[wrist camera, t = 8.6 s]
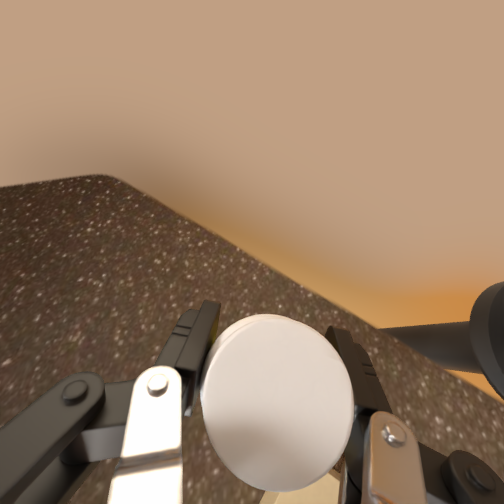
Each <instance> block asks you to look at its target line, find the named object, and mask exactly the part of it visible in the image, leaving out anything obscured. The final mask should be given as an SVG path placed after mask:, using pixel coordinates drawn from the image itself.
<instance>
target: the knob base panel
mask: <svg viewBox="0 0 504 504" xmlns="http://www.w3.org/2000/svg"><path fill="white" fill-rule="evenodd" d="M340 475H341V474H339V473H338V472H337V471H335V470H334V469H333V468H332V469H331V470H330V471H329V472H328V473H327V474H326V475H325V476H323V477H322V478H320V479H319V480H318V481H317V482H315V483H313V484H311V485H309V486H307V487H305V488H302V489H299V490H295V491H290V492H271V491H265V493H264V495H263V497H262V499H261V501H260V503H259V504H338V494H339V485H340Z"/></svg>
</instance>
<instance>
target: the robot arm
mask: <svg viewBox="0 0 504 504" xmlns="http://www.w3.org/2000/svg"><path fill="white" fill-rule="evenodd" d="M220 308H221V303H219V302H214V301H209V300H204V302H203V304H202V306H201V308H200V310H194V309H189V310H188V311H186V312H185V313H184V314H182V315H181V316H180V318H179V320H178V322H177V324H176V326H175V327H174V329H173V331H172V334H171V335H170V336H169V338H168V340H167V342H166V344H165V346H164V347H163V349H162V351H161V353H160V355H159V357H158V358H157V360H156V362H155V364H154V365H153V367H152V368H150V369H148V370H146V371H145V372H143V373H142V374H141V375H140V376H139V377H138V378H136V379H133V380H130V381H122V382H112V383H104V380H103V378H102V377H101V376H100V375H99V374H97V373H94V372H79V373H75V374H72V375H70V376H67V377H65V378H64V379H62V380H61V381H59V382H58V383H56V384H55V385H54V386H53V387H51V388H50V389H49V390H48V391H46V392H45V393H44V394H43V395H41V396H40V397H39V398H38V399H36V400H35V401H34V402H33V403H31V404H30V405H29V406H28V407H26V408H25V409H24V410H22V411H21V412H20V413H19V414H17V415H16V416H15V417H14V418H12V419H11V420H10V421H9V422H7V423H6V424H5V425H4V426H2V427H1V428H0V504H67V502H68V501H69V500H70V499H71V497H72V496H73V495H74V494H75V492H76V491H77V490H78V489H79V487H80V486H81V485H82V484H83V482H84V481H85V480H86V479H87V477H88V476H89V475H90V474H91V472H92V471H93V470H94V469H95V467H96V466H97V465H98V464H99V462H100V461H101V460H105V459H111V458H116V457H120V460H119V463H118V465H117V466H116V468H115V471H114V474H113V478H112V482H111V487H110V492H109V497H108V502H107V504H182V454H181V423H182V420H183V417H184V416H189V417H191V416H192V413H193V409H194V406H195V403H196V400H197V397H198V393H199V390H200V381H201V374H202V369H203V365H204V362H205V359H206V356H207V354H208V352H209V350H210V348H211V347H212V345H213V344H214V342H215V338H216V333H217V328H218V321H219V315H220ZM325 338H326V339H327V340H328V342H329V343H330V344H331V345H332V346H333V347H334V349H335V350H336V351H337V353H338V354H339V356H340V358H341V359H342V361H343V363H344V365H345V367H346V369H347V372H348V375H349V378H350V381H351V385H352V390H353V397H354V418H353V424H352V429H351V433H350V437H349V440H348V443H347V445H346V447H345V450H344V455H345V460H344V462H343V464H342V467H341V475H340V485H339V494H338V504H504V483H503V481H502V480H501V479H500V478H499V476H498V475H497V474H496V473H495V472H494V471H493V470H492V469H491V468H490V467H489V466H488V465H487V464H486V463H484V462H483V461H482V460H480V459H479V458H477V457H476V456H474V455H472V454H470V453H468V452H466V451H462V450H456V451H454V452H452V453H451V454H450V455H449V456H448V457H446V456H444V455H442V454H440V453H439V452H437V451H435V450H433V449H431V448H429V447H427V446H425V445H423V444H421V443H420V442H418V441H417V439H416V437H415V436H414V434H413V432H412V431H411V430H410V428H409V427H408V426H407V425H406V424H405V423H404V422H403V421H402V420H400V419H399V418H398V417H396V416H394V415H393V413H392V410H391V408H390V406H389V403H388V401H387V398H386V396H385V394H384V391H383V389H382V386H381V384H380V382H379V379H378V377H376V372H375V370H374V368H373V367H372V366H373V365H372V363H371V360H370V358H369V356H368V354H367V353H366V351H365V350H364V349H363V348H362V347H361V345H360V344H358V343H354V342H353V339H352V337H351V334H350V332H349V330H348V329H345V328H340V327H335V326H329V328H328V329H327V332H326V334H325Z"/></svg>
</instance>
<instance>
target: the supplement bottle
mask: <svg viewBox="0 0 504 504" xmlns="http://www.w3.org/2000/svg"><path fill="white" fill-rule="evenodd" d="M200 397H201V404H202V408H203V417H204V423H205V428H206V431H207V434H208V437H209V440H210V442H211V444H212V446H213V448H214V450H215V452H216V454H217V455H218V457H219V458H220V460H221V461H222V462H223V464H224V465H225V466H226V467H227V468H228V469H229V470H230V471H231V472H232V473H233V474H234V475H236V476H237V477H238V478H239V479H241V480H242V481H244V482H245V483H247V484H249V485H251V486H253V487H255V488H258V489H262V490H266V491H271V492H290V491H295V490H299V489H302V488H305V487H307V486H309V485H311V484H313V483H315V482H317V481H318V480H319V479H320V478H322V477H323V476H325V475H326V474H327V473H328V472H329V471H330V470H331V469H332V468H333V466H334V465H335V464H336V463H337V461H338V460H339V458H340V457H341V455H342V453H343V452H344V450H345V447H346V445H347V443H348V440H349V437H350V433H351V429H352V424H353V418H354V397H353V390H352V385H351V381H350V378H349V375H348V372H347V369H346V367H345V365H344V363H343V361H342V359H341V358H340V356H339V354H338V353H337V351H336V350H335V349H334V347H333V346H332V345H331V344H330V343H329V342H328V340H327V339H326V338H325V337H323V336H322V335H321V334H320V333H318V332H317V331H316V330H314V329H313V328H311V327H309V326H307V325H305V324H303V323H301V322H298V321H295V320H292V319H290V318H287V317H284V316H280V315H273V314H260V315H254V316H250V317H246V318H244V319H241V320H239V321H237V322H236V323H234V324H232V325H231V326H230V327H228V328H227V329H226V330H225V331H224V332H223V333H222V334H221V335H220V336H219V337H218V338H217V339H216V341H215V342H214V344H213V345H212V347H211V348H210V350H209V352H208V354H207V356H206V359H205V362H204V365H203V369H202V374H201V381H200Z"/></svg>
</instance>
